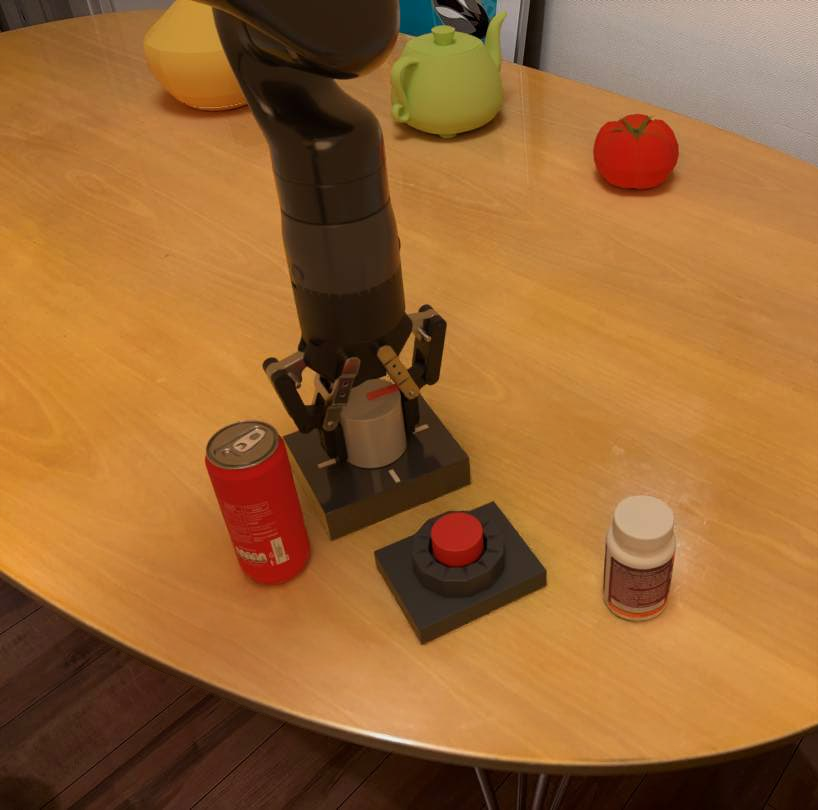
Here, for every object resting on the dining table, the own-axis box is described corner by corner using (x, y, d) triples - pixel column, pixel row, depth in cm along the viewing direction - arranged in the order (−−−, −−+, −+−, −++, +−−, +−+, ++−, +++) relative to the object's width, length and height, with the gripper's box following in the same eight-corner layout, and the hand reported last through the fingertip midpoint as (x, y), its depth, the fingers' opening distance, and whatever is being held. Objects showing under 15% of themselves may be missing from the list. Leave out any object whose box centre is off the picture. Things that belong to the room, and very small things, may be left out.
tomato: (623, 154, 120) (627, 100, 115) (691, 179, 114) (698, 122, 109) (573, 181, 113) (575, 125, 109) (642, 208, 108) (647, 150, 103)
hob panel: (331, 541, 67) (324, 512, 65) (288, 462, 74) (281, 434, 72) (471, 483, 72) (469, 455, 70) (419, 414, 79) (416, 387, 77)
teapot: (475, 85, 138) (471, -3, 130) (544, 112, 131) (545, 19, 122) (362, 127, 126) (350, 32, 118) (432, 158, 118) (423, 59, 110)
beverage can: (226, 568, 65) (184, 450, 58) (279, 524, 69) (246, 407, 61) (275, 600, 63) (238, 482, 55) (327, 554, 66) (299, 436, 59)
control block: (421, 645, 60) (417, 614, 58) (376, 566, 66) (370, 534, 63) (547, 585, 64) (547, 554, 62) (494, 515, 70) (493, 483, 67)
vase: (141, 123, 127) (98, -20, 115) (180, 77, 141) (145, -55, 129) (269, 123, 127) (239, -20, 115) (294, 76, 141) (271, -55, 129)
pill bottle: (680, 609, 63) (694, 530, 57) (620, 631, 61) (628, 552, 56) (648, 561, 66) (658, 482, 61) (591, 581, 65) (595, 501, 59)
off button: (446, 575, 61) (444, 558, 60) (424, 540, 63) (422, 524, 62) (492, 554, 62) (491, 538, 61) (469, 521, 65) (468, 505, 64)
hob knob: (355, 477, 68) (345, 426, 65) (332, 437, 72) (322, 387, 68) (417, 454, 70) (411, 403, 67) (392, 417, 74) (385, 366, 70)
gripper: (414, 209, 65) (429, 386, 76) (222, 264, 59) (269, 447, 70) (464, 254, 61) (473, 435, 72) (261, 319, 55) (305, 506, 66)
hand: (372, 440), depth 71 cm, fingers closed on hob knob, 5 cm apart
